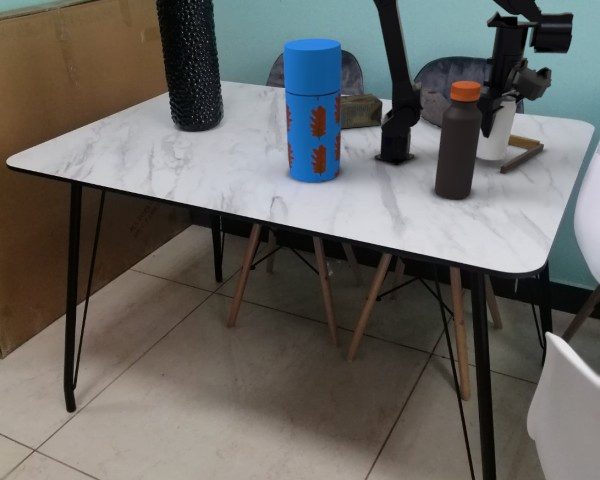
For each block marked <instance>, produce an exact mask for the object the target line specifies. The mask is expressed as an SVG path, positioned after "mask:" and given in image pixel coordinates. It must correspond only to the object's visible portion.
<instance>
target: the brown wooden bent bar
mask: <svg viewBox="0 0 600 480" xmlns="http://www.w3.org/2000/svg"><path fill="white" fill-rule="evenodd" d="M508 145H511V146H515V147H518V148H523V149H527V150H526V151H524V152H522V153H520V154H519V155H517V156H515V157H514V158H512V159H510V160H509V161H507V162H505V163H503V164H502V165H500V170H499V173H500V174H504V175H505V174H507V173H508V172H510V171H512V170H513V169H515V168H516V167H518V166H520V165H521V164H524V163H525V162H527V161H528V160H530V159H532V158H533V157H535V156H537V155H538V154H540V153H541V152H543V151H544V147H545V143H541V140H537V139H533V138H529V137H525V136H521V135H517V134H512V133H510V137H509V141H508Z"/></svg>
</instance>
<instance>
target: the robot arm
mask: <svg viewBox="0 0 600 480" xmlns="http://www.w3.org/2000/svg"><path fill="white" fill-rule="evenodd" d="M372 1H373V3H374V5H375V8H376V11H377V14H378V15H377V16H378V20H379V24H380V30H381V34H382V39H383V44H384V49H385V55H386V59H387V65H388V69H389V74H390V80H391V109H389V110H388V111H387V112H386V113H385V114H384V118H383V119H382V122H381V125H380V129H381V133H380V153H378V154H376V155H374V157H373V158H374V160H378V161H381V162H384V163H387V164H390V165H393V166H400V165H402V164H404V163H407V162H408V161H411V160H412V159H415V157H416V155H415V154H412V153H411V152H410V151H411V142H412V141H411V140H412V128H413V127H414V126H416V125H417V124H418V123H419V121H420V119H421V117H422V116H421V111H422V110H423V109H424V103H425V99H424V97H423V95H422V89H423V86H422V85H423V83H422V81H419V82H416V83H415V80H414V79H413V76H412V74H411V69H410V67H411V66H410V62H409V57H408V52H407V46H406V39H405V34H404V29H403V24H402V18H401V14H400V13H401V12H400V7H399V0H372ZM492 1H493V2H494V3H495V4H497V5H498V6H499V7H500V8H501V9H503V10H504V11H505V12H506V13H508V14H510V15H502V14H500V12H499V11H498V10H496V11H495V13H494V14H493V15H492V16H491V17H490V18H489V19H487V20H486V26H487V27H488V28H495V34H494V41H493V45H492V46H493V47H492V53H491V56H490V57H487V58H486V65H490V66H489V73H488V78H487V79H484V80H483V83H482V86H483V87H482V86H481V90H480V97H479V101H478V102H477V104H476V106H477V108H478V109H479V110H480V112H481V113H482V120H481V127H480V128H481V131H482V134H483V137H486V138H489V136H490V133H491V131H492V128H493V124H494V121H495V117H496V114H497V113H498V112H499V111H500V110H502V109H503V108H504V107H505V106H500V105H501V103H502V98H503V95H507V96H511V97H514V98H516V100H515V104H516V108H517V106H518V105H519V104H520V102H522V101H524V100H525V99H526V100H528V101H530V102H534V101H537V99H539V98H542V97H543V95H545V93H546V90H547V89H548V88H550V87H552V81H553V79H552V72H553V70H552V69H551V68H550V67H548V66H544V67H542V68H540V69H539V70H537V69H536V68H535V69H531V68H529V67H528V66H529V60H528V57H526V56H525V57H524V55H525V51H526V45H527V39H528V47H529V48H533V53H534V54H562V55H563V54H564V55H566V54H568V52H569V50H570V47H571V44H572V40H573V35H572V34H573V24H574V23H573V20H574V17H575V15H574V14H573V13H572V12H571V11H569V12H568V11H567V12H560V13H550V12H549V13H542V9H541V7H540V6H538V5H537V3H536V0H492ZM520 15H521V16H522V17H523V18H525V19H526V20H527V21H523V20H522V21H521V20H519V19H518V16H520ZM529 29H530V33H529ZM528 34H529V38H528Z"/></svg>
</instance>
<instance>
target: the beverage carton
mask: <svg viewBox="0 0 600 480" xmlns="http://www.w3.org/2000/svg"><path fill="white" fill-rule="evenodd" d="M383 104H384V103H383V101H382V100H381V99H380V98H379V97H378V96H377V95H375V93H367V94H365V93H363V94H352V95H351V94H350V95H341V129H351V128H361V127H372V126H373V127H374V126H382V121H383V106H384V105H383Z"/></svg>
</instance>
